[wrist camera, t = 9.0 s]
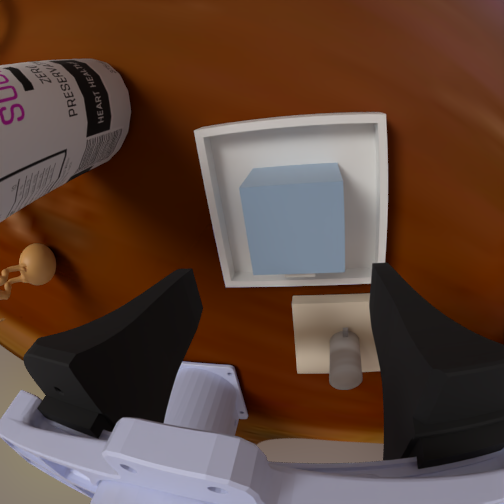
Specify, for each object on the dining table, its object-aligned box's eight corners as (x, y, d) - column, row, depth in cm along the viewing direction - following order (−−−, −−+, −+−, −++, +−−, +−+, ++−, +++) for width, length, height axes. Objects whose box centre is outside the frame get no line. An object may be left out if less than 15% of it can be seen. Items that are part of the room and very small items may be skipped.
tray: (379, 270, 22) (383, 282, 20) (230, 275, 24) (225, 287, 23) (380, 112, 17) (385, 114, 15) (202, 127, 19) (193, 130, 18)
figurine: (65, 292, 29) (-3, 370, 19) (27, 270, 29) (-42, 336, 19) (63, 225, 25) (-31, 302, 15) (21, 205, 25) (-68, 267, 15)
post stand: (384, 362, 26) (390, 406, 22) (298, 365, 28) (293, 409, 24) (396, 292, 22) (409, 337, 18) (292, 295, 24) (286, 342, 20)
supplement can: (50, 155, 22) (-97, 238, 9) (59, 58, 18) (-114, 93, 5) (128, 174, 22) (-35, 293, 9) (145, 62, 17) (-66, 83, 5)
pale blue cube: (337, 162, 18) (343, 181, 15) (340, 247, 21) (344, 281, 18) (252, 168, 20) (239, 188, 16) (264, 250, 22) (254, 283, 19)
